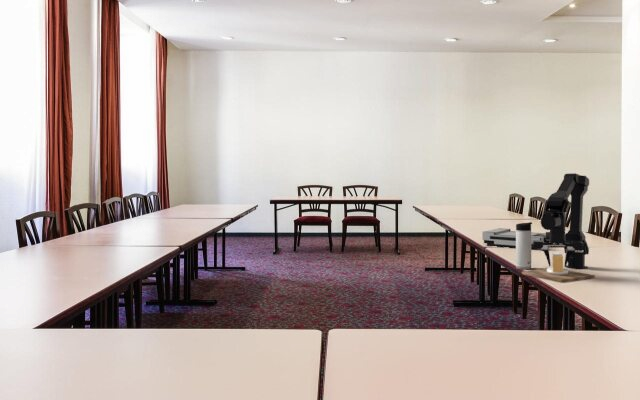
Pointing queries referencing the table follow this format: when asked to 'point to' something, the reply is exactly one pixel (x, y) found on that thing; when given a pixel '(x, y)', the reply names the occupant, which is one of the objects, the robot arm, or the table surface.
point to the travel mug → (523, 246)
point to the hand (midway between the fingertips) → (557, 266)
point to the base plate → (558, 278)
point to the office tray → (507, 238)
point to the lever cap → (557, 265)
